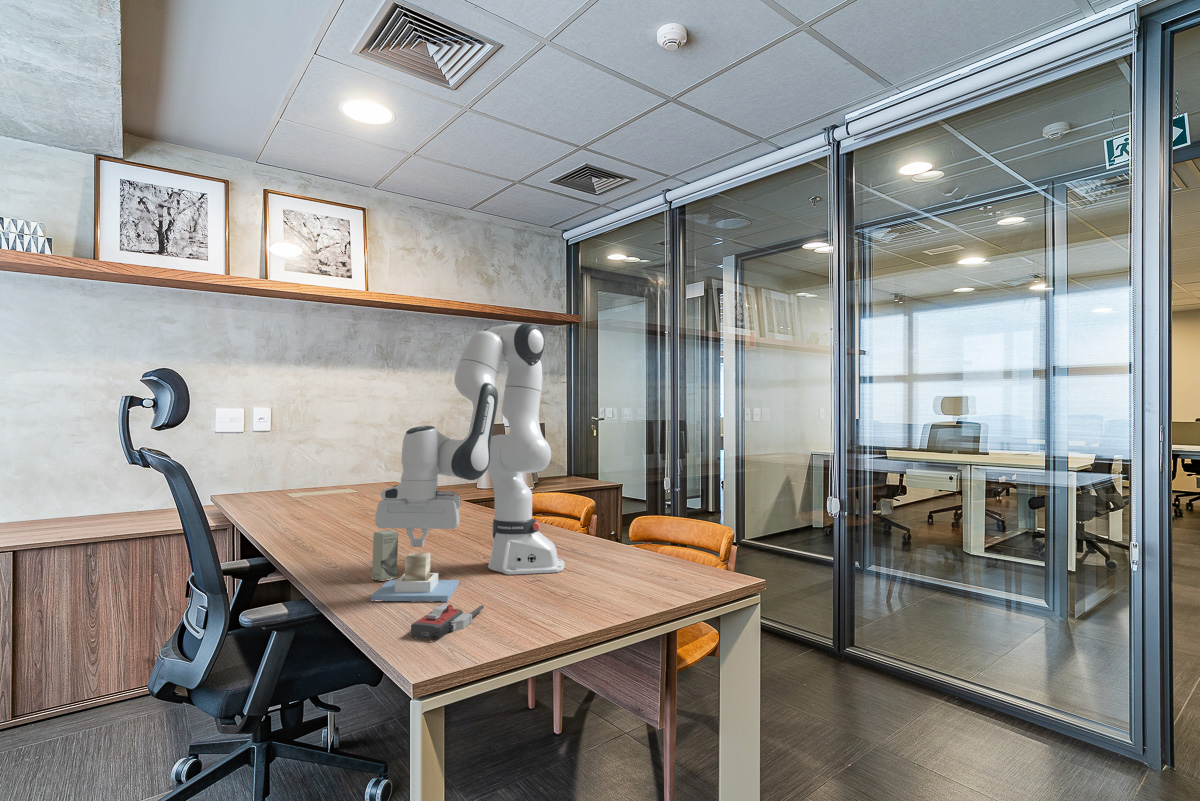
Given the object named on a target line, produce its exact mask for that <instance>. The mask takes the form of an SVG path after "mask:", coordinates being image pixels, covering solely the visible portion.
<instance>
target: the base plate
mask: <svg viewBox="0 0 1200 801" xmlns="http://www.w3.org/2000/svg"><path fill="white" fill-rule="evenodd" d="M459 583H460V580H459V579H439V572H430V579H429V580H428V581H405V572H404V573H403V574H402V575H401V576H400V577H399V578H397V579H393V580H389V581H385V583H384V584H383V585H382V586H380V587H379V588H378V589H377V590H375V592H373V593H372V595H371V596H370V602H371V601H372V600H373V601H375V600H382V601H441V602H440V603H448V602H449V601H450V599H451V598H452V596H453V595H454V593H455V592H456V591H457V589H458V588H457V586H458V585H459V586H460V584H459ZM459 586H458V587H459ZM456 588H457V589H456ZM454 591H455V592H454ZM452 594H453V595H452ZM450 597H451V598H450ZM448 600H449V601H448Z"/></svg>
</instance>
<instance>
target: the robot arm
mask: <svg viewBox="0 0 1200 801" xmlns="http://www.w3.org/2000/svg"><path fill="white" fill-rule="evenodd" d="M545 343H546V340H545V336H544V333H543V332H542V330H541V328H540V327H539V326H538V325H535V324H531V323H509V324H504V325H498V326H489V327H487V328H485V329H483V330H479V331H476V332H475V333H473V335H472V336H471V337H470V339H469V340H468V341H467V343H466V346H465V347H464V349H463V352H462V354H461V356H460V358H459V361H458V364H457V367H456V370H455V373H454V386H455V387H456V389H457V391H458V392H459V393H460V394H461V395H462V396H463V397H465V398H466V399H468V401H471V403H472V406H473V410H472V416H471V420H470V425H469V430H468V433H467V436H466V437H465V438H463V439H453V438H450V437H448V436H446V435H444V434H442V433H441V432H439V431H438V429H437V427H435V426H432V425H423V426H415V427H412V428H409V429H408V430H406V432H405V433H404V435H403V440H402V447H401V466H402V474H401V477H400V484H395V485H393V486H390V487H387V488H385V489H383V490H381V492H380V498H381V500H380V501H379V502H378V504H377V508H376V511H375V512H376V513H375V525H376V527H377V528H378V529H406V532H405V533H406V535H407V537H408V538H409V541H410V547H412V548H413V547H414V548H415V547H418V548H421V547H422V548H423V547H424V546H425V539H426V538H427V535H428V534H429V532H430V529H431V530H432V529H434V530H436V529H437V530H443V529H444V530H455V529H456V528H458V526H459V525H460V507H461V496H460V494H459V493H456V492H455V491H452V490H451V491H444V490H438V475H440V476H446V477H453V478H459V479H463V480H467V481H475V480H477V479H480V478H481V477H482V476H483V475H484V474H485V473H486V471H487V472H488V474H489V478H490V480H491V483H492V487H493V492H494V495H493V496H494V517H493V519H492V525H491V526H492V529H491V530H492V533H491V534H492V538H493V539H492V540H493V541H492V547H491V548H492V549H491V554H490V559H489V562H488V565H487V568H488V569H489V570H492V571H495V572H499V573H502V574H505V575H527V574H550V573H559V572H561V571H563V570H564V569H565V561H564V560H563V559H562V558H559V557H558V551H557V547H556V545H555V543H554V542H553V541H552V540H550V539H549V538H548V537H546V536H544V534H543V533H541V532H540V531H539V529H540V526H541V525H540V522H539V520H538V519H535V518H533V492H532V490H531V488H530V487H529V486H528V485H527V483H526V482H525V480H524V478H523V474H533V473H538V472H542V471H544V470H546V469H547V467H548V466H549V465H550V463H551V460H552V449H551V447H550V444H549V442H547V440H546V439H545V437H544V436H543V433H542V430H541V425H540V406H541V398H542V390H543V365H542V362H541V358H542V356H543V354H544V349H545V345H546V344H545ZM501 363H506V364H507V367H508V368H507V369H508V372H507V375H506V378H505V379H506V380H505V384H504V385H505V386H504V392H503V398H502V407H501V413H502V416H503V418H505V419H506V421H507V423H508V426H509V434H496V435H493V431H494V425H495V421H496V420H495V419H496V415H497V410H498V404H499V403H498V402H499V394H498V389H497V388H496V382H497V378H498V374H499V371H500V367H501ZM415 529H419V530H421V534H422V536H421V537H419V538H416V536H415V535H414V533H413V532H415Z"/></svg>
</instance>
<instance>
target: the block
mask: <svg viewBox="0 0 1200 801" xmlns="http://www.w3.org/2000/svg"><path fill="white" fill-rule="evenodd" d="M404 573H405V581H428V580H429V579H430V573H431V552H410V553H409V554H408V555H406V556H405V557H404Z"/></svg>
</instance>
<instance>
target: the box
mask: <svg viewBox="0 0 1200 801" xmlns="http://www.w3.org/2000/svg"><path fill="white" fill-rule="evenodd" d="M372 541H373V542H372V543H373V545H372V569H371V579H372V578H373V579H376V580H380V581H383V580H387V579H391V578H395V577H398V576H397V574H398V552H399V549H398V548H399V531H396V530H391V529H388V530H380V531H374V532H373V540H372ZM373 579H372V580H373Z"/></svg>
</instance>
